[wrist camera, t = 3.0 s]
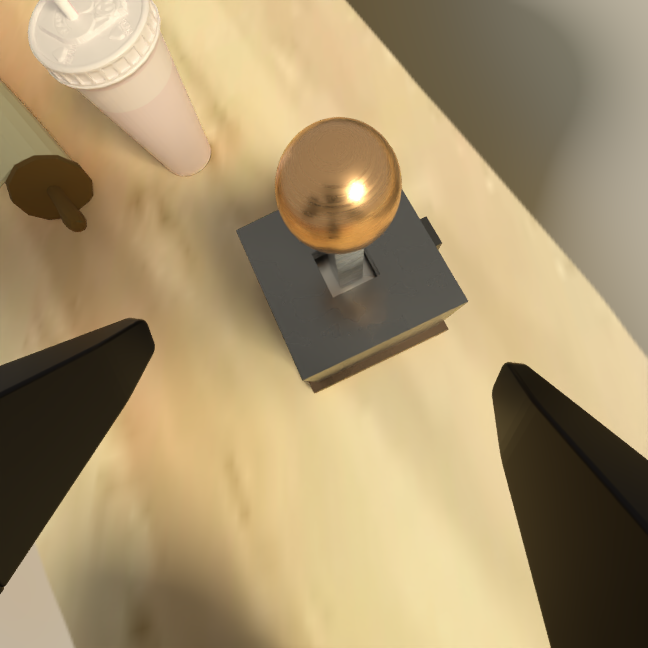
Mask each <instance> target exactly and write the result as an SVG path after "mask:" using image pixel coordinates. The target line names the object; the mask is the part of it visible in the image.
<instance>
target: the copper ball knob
mask: <svg viewBox="0 0 648 648" xmlns="http://www.w3.org/2000/svg"><path fill="white" fill-rule="evenodd" d="M401 190H402V179H401V172H400V166H399V163H398V160H397V158H396V155H395V153H394V151H393V149H392V147H391V146H390V145H389V143H388V142H387V140H386V139H385V138H384V137H383V136H382V135H381V134H380V133H379V132H378V131H376V130H375V129H374V128H373V127H371V126H369V125H368V124H366V123H364V122H361V121H359V120H355V119H351V118H345V117H334V118H327V119H323V120H320V121H317V122H315V123H313V124H311V125H309V126H308V127H306V128H304V129H303V130H302V131H300V132H299V133H298V134H297V135H296V136H295V137H294V138H293V139H292V141H291V142H290V143H289V144H288V146H287V147H286V149H285V150H284V152H283V154H282V156H281V159H280V162H279V164H278V167H277V172H276V178H275V195H276V202H277V206H278V209H279V212H280V215H281V217H282V219H283V221H284V223H285V224H286V226H287V228H288V229H289V230H290V232H291V233H292V234H293V235H294V236H295V237H296V238H297V239H298V240H299V241H301V242H302V243H303V244H305V245H306V246H308V247H310V248H312V249H314V250H317V251H319V252H323V253H327V254H324V255H322V256H320V257H318V258H316V259H314V260H315V262H316V264H317V266H318V268H319V270H320V272H321V274H322V276H323V278H324V280H325V282H326V284H327V286H328V288H329V290H330V292H331V294H332V297H335V296H337V295H339V294H342V293H344V292H346V291H348V290H350V289H352V288H354V287H356V286H358V285H360V284H362V283H364V282H366V281H369V280H371V279H373V278H375V277H377V274H376V273H375V271H374V269H373V267H372V265H371V263H370V261H369V259H368V258H367V256H366V254H365V252H364V248H365V247H367V246H369V245H370V244H372V243H373V242H374V241H376V240H377V239H378V238H379V237H380V236H381V235H382V234H383V233H384V232H385V231H386V229H387V228H388V227H389V225H390V224H391V222H392V220H393V219H394V217H395V214H396V212H397V209H398V206H399V203H400V198H401Z"/></svg>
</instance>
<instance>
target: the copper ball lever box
mask: <svg viewBox="0 0 648 648" xmlns="http://www.w3.org/2000/svg"><path fill="white" fill-rule="evenodd" d="M236 231H237V234H238V236H239V238H240V241H241V243H242V245H243V247H244V250H245V252H246V254H247V256H248V259H249V261H250V263H251V265H252V268H253V270H254V272H255V274H256V277H257V279H258V281H259V283H260V286H261V288H262V290H263V292H264V295H265V297H266V299H267V301H268V304H269V306H270V308H271V310H272V313H273V315H274V317H275V320H276V322H277V324H278V326H279V329H280V331H281V333H282V335H283V338H284V340H285V342H286V344H287V347H288V349H289V351H290V353H291V356H292V358H293V360H294V362H295V365H296V367H297V369H298V371H299V374H300V376H301V378H302V380H303V381H309V383H310V385H311V387H312V389H313V392H314V393H317V392H319V391H322V390H324V389H326V388H328V387H330V386H332V385H334V384H336V383H338V382H340V381H343V380H345V379H347V378H349V377H351V376H353V375H355V374H357V373H359V372H361V371H363V370H366V369H368V368H370V367H372V366H374V365H376V364H378V363H380V362H382V361H384V360H387V359H389V358H391V357H393V356H395V355H397V354H399V353H401V352H403V351H405V350H407V349H410V348H412V347H414V346H416V345H418V344H420V343H422V342H424V341H426V340H428V339H431V338H433V337H435V336H437V335H439V334H441V333H443V332H445V331H447V330H448V327H447V326H446V324H445V322H444V320H445V319H446V318H447V317H449V316H450V315H451V314H453V313H454V312H455V311H457V310H458V309H459V308H461V307H462V306H463V305H464V304H466V303H467V302H468V300H467V298H466V297H465V295H464V293H463V292H462V290H461V288H460V286H459V285H458V283H457V281H456V280H455V278H454V276H453V275H452V273H451V271H450V270H449V268H448V266H447V264H446V263H445V261H444V259H443V258H442V256H441V254H440V253H439V251H438V249H439V248H440V246H441V244H442V242H441V240H440V239H439V237H438V235H437V234H436V232H435V230H434V229H433V227H432V225H431V224H430V222H429V220H428V219H427V217H424V218H422V219H419V217H418V215H417V214H416V212H415V210H414V209H413V207H412V205H411V204H410V202H409V200H408V199H407V197H406V195H405V193H404V192H403V190H401V198H400V203H399V206H398V209H397V212H396V214H395V217H394V219H393V220H392V222H391V224H390V225H389V227H388V228H387V229H386V231H385V232H384V233H383V234H382V235H381V236H380V237H379V238H378V239H377V240H376V241H374V242H373V243H372V244H370V245H369V246H367V247H365V248H364V252H365V254H366V256H367V258H368V259H369V261H370V263H371V265H372V267H373V269H374V271H375V273H376V274H377V277H375V278H373V279H371V280H369V281H366V282H364V283H362V284H360V285H358V286H356V287H354V288H352V289H350V290H348V291H346V292H344V293H342V294H339V295H337V296H335V297H332V294H331V292H330V290H329V288H328V286H327V284H326V282H325V280H324V278H323V276H322V274H321V272H320V270H319V268H318V266H317V264H316V262H315V260H314V259H316V258H318V257H320V256H322V255H324V254H327V253H323V252H319V251H317V250H314V249H312V248H310V247H308V246H306V245H305V244H303V243H302V242H301V241H299V240H298V239H297V238H296V237H295V236H294V235H293V234H292V233H291V232H290V230H289V229H288V228H287V226H286V224H285V223H284V221H283V219H282V217H281V215H280V212H279V210H277V211H275V212H273V213H271V214H269V215H267V216H265V217H262V218H260V219H258V220H256V221H254V222H252V223H250V224H248V225H246V226H244V227H242V228H240V229H238V230H236Z"/></svg>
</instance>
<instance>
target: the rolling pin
mask: <svg viewBox="0 0 648 648" xmlns="http://www.w3.org/2000/svg"><path fill="white" fill-rule="evenodd" d="M4 182H5V183H6V185H7V188H8V192H9V195H10V199H11V200H12V202H13V203H14V204H15V205H17V206H18V207H19V208H21V209H22V210H23V211H24V212H26V213H27V214H28V215H31V216H35V217H39V218H44V219H48V220H52V219H59V218H62V221H63V223H64V224H65V225H66V226H67V227H68V228H69V229H70V230H72V231H74V232H81V231H83V230H85V228H86V227H87V226H86V219H85V217H84V216H83V215H82V213H81V212H80V211H79V209H80V208H82V207H83V206H84V205H85V204H86V203H88V202H89V201H90V199H91V198H92V196H93V189H92V180H91V179H90V177H89V176H88V175H87V174H86V173H85V171H84V170H83V169H82V168H81V167H80V165H79V164H78V163H76V162H74V161H72V160H71V159H70V157H69V156H68V155H67V154H66V153H65V152H64V150H63V149H62V148H61V147H60V146H59V145H58V143H57V142H56V141H55V140H54V139H53V137H52V136H51V135H50V134H49V133H48V132H47V130H46V129H45V128H44V127H43V126H42V125H41V123H40V122H39V121H38V120H37V119H36V118H35V117H34V116H33V114H32V113H31V112H30V111H29V110H28V109H27V108H26V107H25V106H24V105H23V104H22V102H21V101H20V100H19V99H18V98H17V97H16V96H15V95H14V94H13V93H12V92H11V90H10V89H9V88H8V87H7V86H6V85H5V84H4V83H3V82H2V81H1V80H0V187H1V186H2V185H3V183H4Z"/></svg>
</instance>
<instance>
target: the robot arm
mask: <svg viewBox="0 0 648 648" xmlns="http://www.w3.org/2000/svg"><path fill="white" fill-rule="evenodd" d="M154 349H155V344H154V341H153V338H152V335H151V332H150V330H149V327H148V324H147V323H146V321H145V320H142V319H135V318H127V319H124V320H121V321H119V322H116V323H113V324H111V325H108V326H105V327H103V328H100V329H97V330H95V331H92V332H89V333H87V334H84V335H81V336H79V337H76V338H73V339H71V340H68V341H65V342H63V343H60V344H57V345H55V346H52V347H49V348H47V349H44V350H41V351H38V352H36V353H33V354H30V355H28V356H25V357H22V358H20V359H17V360H14V361H12V362H9V363H6V364H4V365H1V366H0V594H1V592H2V591H3V590H4V586H6V584H7V583H8V582H9V580H10V578H11V577H12V575H13V574H14V572H15V571H16V569H17V568H18V566H19V565H20V563H21V562H22V560H23V559H24V557H25V556H26V554H27V553H28V551H29V550H30V548H31V547H32V545H33V544H34V542H35V541H36V539H37V538H38V536H39V535H40V533H41V532H42V530H43V529H44V527H45V526H46V524H47V523H48V521H49V520H50V518H51V517H52V515H53V514H54V512H55V511H56V509H57V508H58V506H59V505H60V503H61V502H62V500H63V499H64V497H65V496H66V494H67V493H68V491H69V490H70V488H71V487H72V485H73V483H74V482H75V480H76V479H77V477H78V476H79V474H80V473H81V471H82V470H83V468H84V467H85V465H86V464H87V462H88V461H89V459H90V458H91V456H92V455H93V453H94V452H95V450H96V449H97V447H98V446H99V444H100V443H101V441H102V440H103V438H104V437H105V435H106V434H107V432H108V431H109V429H110V428H111V426H112V425H113V423H114V422H115V420H116V419H117V417H118V416H119V414H120V413H121V411H122V410H123V408H124V406H125V405H126V403H127V402H128V400H129V398H130V396H131V395H132V393H133V391H134V389H135V387H136V385H137V383H138V381H139V380H140V378H141V376H142V374H143V372H144V370H145V368H146V366H147V364H148V362H149V361H150V359H151V357H152V355H153V353H154ZM492 399H493V406H494V413H495V420H496V428H497V435H498V442H499V449H500V455H501V459H502V464H503V468H504V472H505V476H506V479H507V483H508V487H509V491H510V494H511V498H512V502H513V506H514V510H515V513H516V517H517V521H518V525H519V529H520V532H521V536H522V540H523V544H524V548H525V551H526V555H527V559H528V563H529V567H530V570H531V574H532V578H533V582H534V586H535V589H536V593H537V597H538V601H539V605H540V608H541V612H542V616H543V620H544V623H545V627H546V631H547V635H548V639H549V642H550V646H551V648H648V460H647V459H646V458H645V457H643V456H642V455H641V454H639V453H638V452H637V451H636V450H634V449H633V448H632V447H630V446H629V445H628V444H627V443H625V442H624V441H623V440H622V439H620V438H619V437H618V436H616V435H615V434H614V433H613V432H611V431H610V430H609V429H608V428H606V427H605V426H604V425H602V424H601V423H600V422H599V421H597V420H596V419H595V418H594V417H592V416H591V415H590V414H588V413H587V412H586V411H585V410H583V409H582V408H581V407H580V406H578V405H577V404H576V403H574V402H573V401H572V400H571V399H569V398H568V397H567V396H565V395H564V394H563V393H562V392H560V391H559V390H558V389H557V388H555V387H554V386H553V385H551V384H550V383H549V382H548V381H546V380H545V379H544V378H543V377H541V376H540V375H539V374H537V373H536V372H535V371H534V370H532V369H531V368H530V367H529V366H527V365H525V364H521V363H512V362H507V363H505V364H504V365H503V366H502V368H501V371H500V373H499V375H498V377H497V380H496V382H495V384H494V386H493V390H492Z"/></svg>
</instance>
